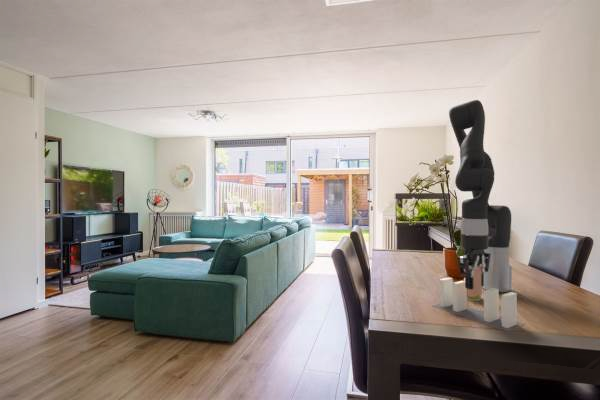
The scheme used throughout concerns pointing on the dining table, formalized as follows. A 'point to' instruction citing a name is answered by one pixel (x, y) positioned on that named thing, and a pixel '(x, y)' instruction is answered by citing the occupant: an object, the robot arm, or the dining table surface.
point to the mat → (478, 317)
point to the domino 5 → (509, 309)
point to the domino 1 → (445, 292)
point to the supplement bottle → (474, 296)
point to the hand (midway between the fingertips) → (474, 287)
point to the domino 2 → (459, 296)
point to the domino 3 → (476, 283)
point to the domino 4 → (491, 304)
